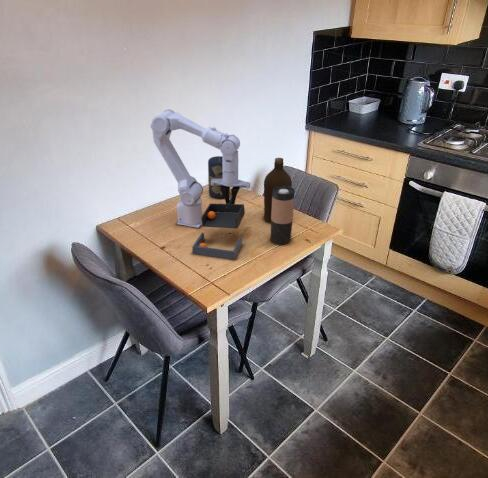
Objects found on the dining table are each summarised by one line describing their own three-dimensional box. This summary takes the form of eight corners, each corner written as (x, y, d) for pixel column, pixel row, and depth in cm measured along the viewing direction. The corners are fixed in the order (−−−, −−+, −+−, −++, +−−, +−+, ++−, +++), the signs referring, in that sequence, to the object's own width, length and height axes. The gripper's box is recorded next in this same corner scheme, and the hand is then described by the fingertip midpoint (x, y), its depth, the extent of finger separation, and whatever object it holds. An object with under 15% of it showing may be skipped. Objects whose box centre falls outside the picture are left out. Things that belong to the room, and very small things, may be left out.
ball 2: (215, 216, 158) (207, 218, 158) (213, 209, 157) (205, 210, 156) (217, 219, 155) (209, 221, 155) (215, 212, 154) (207, 214, 154)
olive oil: (264, 225, 168) (267, 164, 155) (260, 213, 177) (262, 154, 165) (291, 224, 168) (296, 163, 156) (286, 212, 178) (290, 153, 165)
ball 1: (201, 244, 149) (198, 241, 152) (199, 252, 150) (196, 248, 153) (209, 245, 150) (206, 241, 153) (207, 253, 152) (204, 249, 154)
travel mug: (285, 247, 153) (289, 196, 143) (266, 242, 157) (268, 191, 147) (294, 238, 159) (298, 188, 149) (275, 233, 162) (278, 183, 152)
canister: (207, 198, 190) (205, 159, 182) (210, 190, 199) (209, 152, 190) (228, 200, 189) (228, 160, 180) (231, 191, 197) (231, 153, 188)
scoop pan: (237, 228, 149) (236, 218, 147) (202, 226, 153) (201, 217, 151) (250, 203, 164) (249, 194, 162) (217, 202, 168) (216, 193, 166)
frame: (202, 239, 159) (201, 232, 158) (242, 244, 155) (242, 237, 154) (192, 253, 151) (192, 246, 149) (234, 259, 147) (234, 252, 145)
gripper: (252, 167, 157) (251, 201, 164) (214, 164, 161) (215, 197, 168) (248, 174, 151) (247, 209, 158) (208, 171, 155) (209, 205, 162)
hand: (230, 204), depth 163 cm, fingers closed on scoop pan, 2 cm apart
